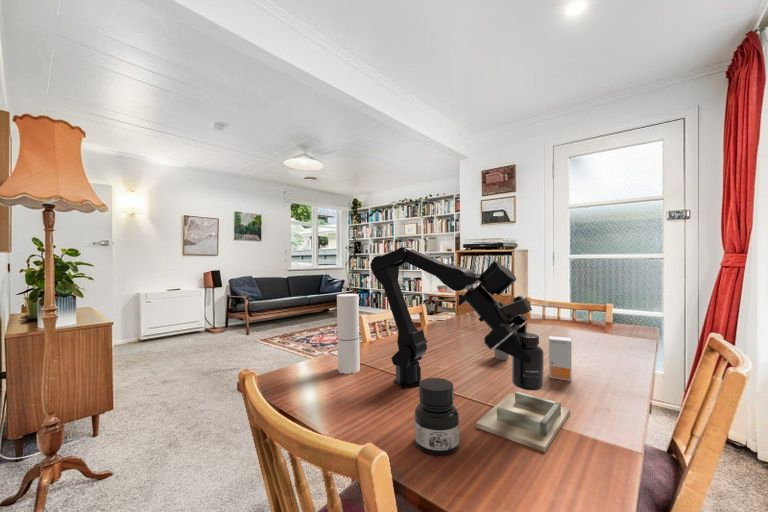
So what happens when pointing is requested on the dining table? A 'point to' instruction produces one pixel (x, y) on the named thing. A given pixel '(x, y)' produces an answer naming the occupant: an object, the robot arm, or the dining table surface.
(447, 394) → the ink bottle
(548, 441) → the cradle board
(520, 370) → the supplement bottle
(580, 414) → the dining table surface
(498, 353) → the cup
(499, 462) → the dining table surface
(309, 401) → the dining table surface
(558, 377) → the skincare box
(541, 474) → the dining table surface
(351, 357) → the cylindrical container
